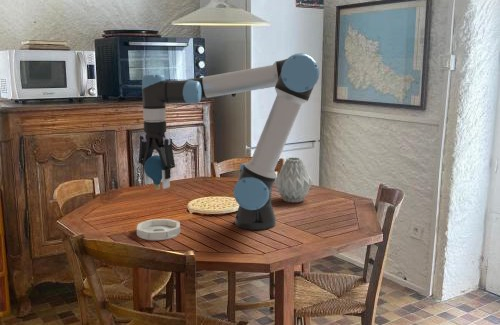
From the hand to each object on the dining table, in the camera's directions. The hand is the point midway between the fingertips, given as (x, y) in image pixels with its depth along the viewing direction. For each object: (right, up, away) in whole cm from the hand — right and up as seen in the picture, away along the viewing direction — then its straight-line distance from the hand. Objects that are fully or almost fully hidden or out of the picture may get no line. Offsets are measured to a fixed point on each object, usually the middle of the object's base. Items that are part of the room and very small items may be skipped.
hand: (157, 185), depth 176 cm
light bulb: (0, -2, 0) cm, 2 cm away
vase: (+51, -9, +45) cm, 69 cm away
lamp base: (0, -17, +3) cm, 17 cm away
